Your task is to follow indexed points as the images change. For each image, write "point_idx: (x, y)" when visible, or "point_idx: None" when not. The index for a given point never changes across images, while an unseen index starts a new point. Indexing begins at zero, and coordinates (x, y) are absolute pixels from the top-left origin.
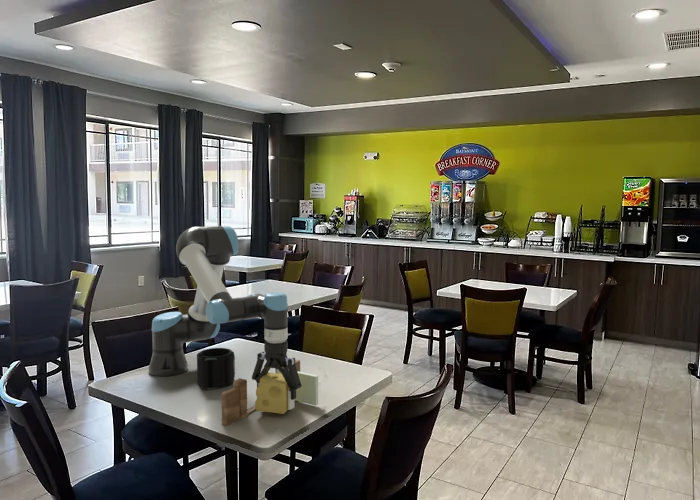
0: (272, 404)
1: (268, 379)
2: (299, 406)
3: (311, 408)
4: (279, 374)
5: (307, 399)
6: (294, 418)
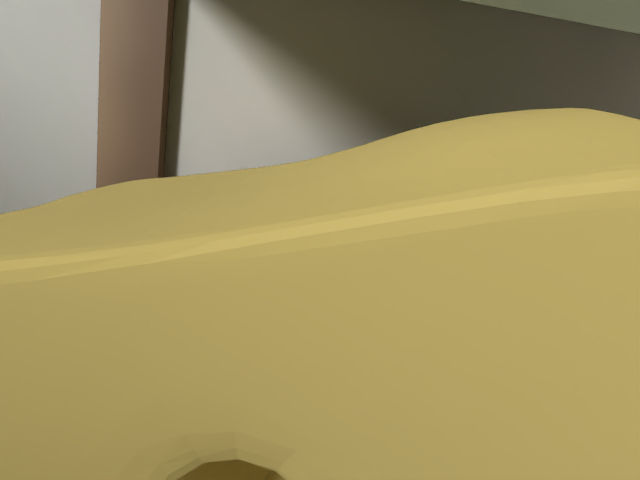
0: None
1: None
2: (489, 79)
3: (630, 80)
4: (238, 332)
5: (608, 10)
6: None
